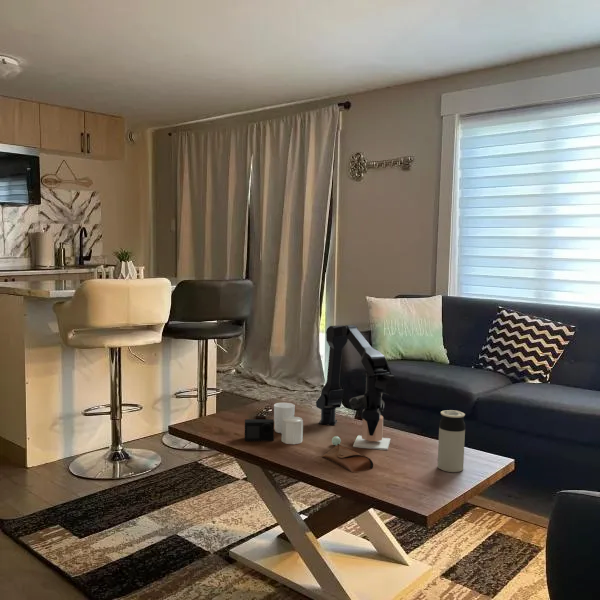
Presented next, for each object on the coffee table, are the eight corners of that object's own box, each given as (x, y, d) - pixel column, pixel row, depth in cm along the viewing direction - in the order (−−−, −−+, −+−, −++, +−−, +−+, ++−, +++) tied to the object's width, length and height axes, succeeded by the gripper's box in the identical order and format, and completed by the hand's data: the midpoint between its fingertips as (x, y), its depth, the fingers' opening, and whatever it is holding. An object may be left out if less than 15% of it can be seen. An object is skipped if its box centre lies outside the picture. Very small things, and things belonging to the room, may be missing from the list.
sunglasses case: (318, 456, 202) (327, 437, 204) (332, 463, 206) (340, 445, 207) (353, 473, 187) (362, 453, 189) (367, 480, 191) (376, 460, 193)
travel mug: (438, 472, 190) (441, 415, 189) (436, 463, 198) (438, 409, 197) (464, 473, 189) (467, 417, 188) (461, 465, 197) (464, 410, 196)
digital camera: (244, 442, 215) (244, 423, 214) (244, 437, 220) (244, 419, 220) (273, 442, 216) (274, 423, 216) (272, 437, 221) (273, 418, 221)
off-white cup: (285, 437, 222) (285, 415, 221) (303, 439, 220) (304, 417, 220) (280, 443, 215) (280, 420, 214) (299, 444, 213) (299, 422, 213)
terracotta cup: (363, 434, 221) (364, 412, 221) (383, 436, 220) (383, 414, 219) (361, 440, 214) (361, 417, 214) (381, 441, 213) (382, 419, 212)
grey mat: (357, 437, 224) (357, 435, 224) (390, 440, 222) (390, 438, 222) (353, 446, 213) (353, 445, 213) (387, 450, 210) (387, 448, 210)
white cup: (285, 435, 224) (286, 408, 223) (269, 431, 229) (269, 405, 228) (298, 430, 231) (299, 404, 230) (282, 426, 235) (282, 401, 234)
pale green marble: (332, 443, 216) (332, 434, 216) (341, 444, 215) (341, 435, 215) (330, 446, 213) (331, 437, 213) (339, 447, 212) (340, 438, 212)
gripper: (355, 382, 227) (353, 423, 228) (347, 393, 208) (345, 438, 210) (385, 384, 224) (383, 426, 225) (379, 396, 206) (378, 441, 207)
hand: (372, 432), depth 217 cm, fingers closed on terracotta cup, 7 cm apart
